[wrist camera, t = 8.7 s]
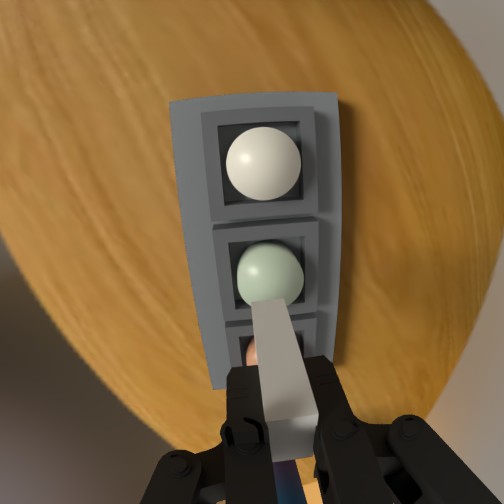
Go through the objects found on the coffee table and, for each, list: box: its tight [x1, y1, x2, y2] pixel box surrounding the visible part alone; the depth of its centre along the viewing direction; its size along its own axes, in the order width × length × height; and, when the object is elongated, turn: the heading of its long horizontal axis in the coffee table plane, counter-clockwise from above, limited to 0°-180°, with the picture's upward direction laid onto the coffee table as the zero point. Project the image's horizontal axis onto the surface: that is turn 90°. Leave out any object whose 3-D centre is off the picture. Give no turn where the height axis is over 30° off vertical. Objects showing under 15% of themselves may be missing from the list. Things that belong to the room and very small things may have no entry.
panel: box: [169, 92, 342, 390], centre depth 23 cm, size 26×12×4 cm, turn 4°
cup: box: [272, 459, 307, 504], centre depth 26 cm, size 7×7×15 cm
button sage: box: [237, 240, 304, 306], centre depth 22 cm, size 5×5×2 cm
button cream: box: [226, 127, 301, 200], centre depth 19 cm, size 5×5×2 cm
